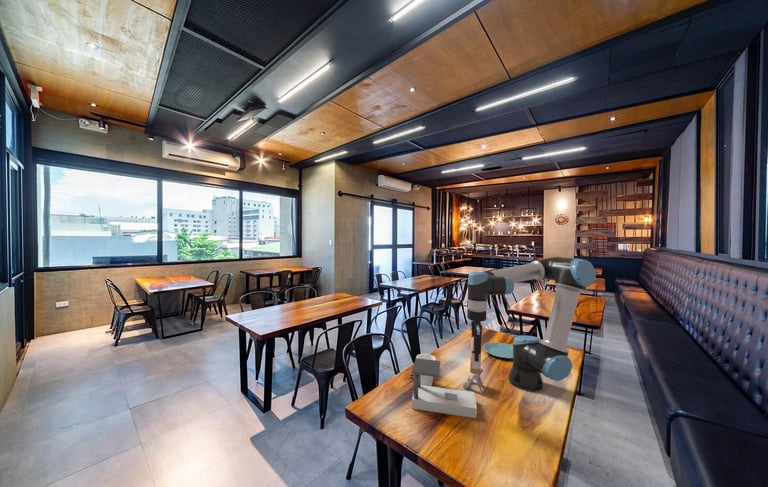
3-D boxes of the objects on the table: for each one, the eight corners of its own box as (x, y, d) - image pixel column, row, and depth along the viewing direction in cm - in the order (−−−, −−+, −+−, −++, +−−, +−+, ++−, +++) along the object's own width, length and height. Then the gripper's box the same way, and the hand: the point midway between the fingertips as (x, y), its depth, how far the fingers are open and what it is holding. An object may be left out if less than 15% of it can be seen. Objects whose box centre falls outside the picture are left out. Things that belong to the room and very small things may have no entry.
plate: (528, 362, 162) (529, 357, 162) (490, 361, 163) (490, 356, 163) (512, 346, 185) (512, 342, 184) (478, 346, 185) (478, 342, 185)
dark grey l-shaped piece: (439, 387, 127) (440, 360, 127) (438, 403, 114) (438, 374, 114) (415, 383, 129) (415, 358, 129) (411, 399, 117) (412, 371, 116)
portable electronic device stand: (469, 381, 140) (469, 364, 140) (485, 386, 136) (485, 369, 135) (463, 388, 133) (463, 371, 133) (479, 394, 129) (480, 376, 128)
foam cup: (435, 390, 131) (435, 363, 131) (415, 388, 133) (415, 361, 133) (435, 380, 141) (435, 354, 140) (417, 378, 142) (417, 353, 142)
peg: (479, 370, 117) (480, 337, 117) (480, 374, 113) (481, 340, 113) (469, 369, 118) (470, 336, 118) (470, 373, 114) (471, 339, 114)
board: (474, 401, 123) (474, 392, 123) (476, 418, 111) (476, 408, 111) (415, 392, 129) (415, 384, 129) (411, 408, 117) (411, 399, 117)
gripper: (465, 304, 124) (464, 356, 125) (469, 314, 108) (467, 374, 108) (483, 305, 123) (482, 358, 123) (490, 316, 106) (488, 376, 107)
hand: (475, 365), depth 116 cm, fingers closed on peg, 4 cm apart
